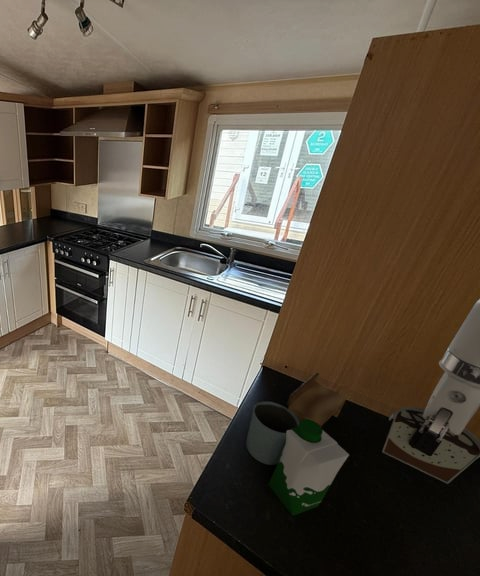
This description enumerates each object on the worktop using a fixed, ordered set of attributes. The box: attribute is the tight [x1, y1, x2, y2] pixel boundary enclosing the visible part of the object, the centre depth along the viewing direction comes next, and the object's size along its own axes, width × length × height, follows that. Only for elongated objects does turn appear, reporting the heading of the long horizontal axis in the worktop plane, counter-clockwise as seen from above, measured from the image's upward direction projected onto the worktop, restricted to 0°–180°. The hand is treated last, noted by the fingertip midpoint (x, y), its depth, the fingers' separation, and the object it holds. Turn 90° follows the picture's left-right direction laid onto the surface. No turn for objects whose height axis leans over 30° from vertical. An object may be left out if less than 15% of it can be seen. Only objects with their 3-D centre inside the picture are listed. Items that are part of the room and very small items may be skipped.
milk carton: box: [267, 419, 350, 517], centre depth 66 cm, size 9×9×20 cm
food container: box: [381, 406, 480, 485], centre depth 60 cm, size 12×6×10 cm, turn 47°
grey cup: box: [245, 401, 299, 466], centre depth 79 cm, size 10×10×12 cm
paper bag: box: [286, 372, 347, 428], centre depth 88 cm, size 9×16×10 cm, turn 125°
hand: (425, 439), depth 60 cm, fingers closed on food container, 6 cm apart
